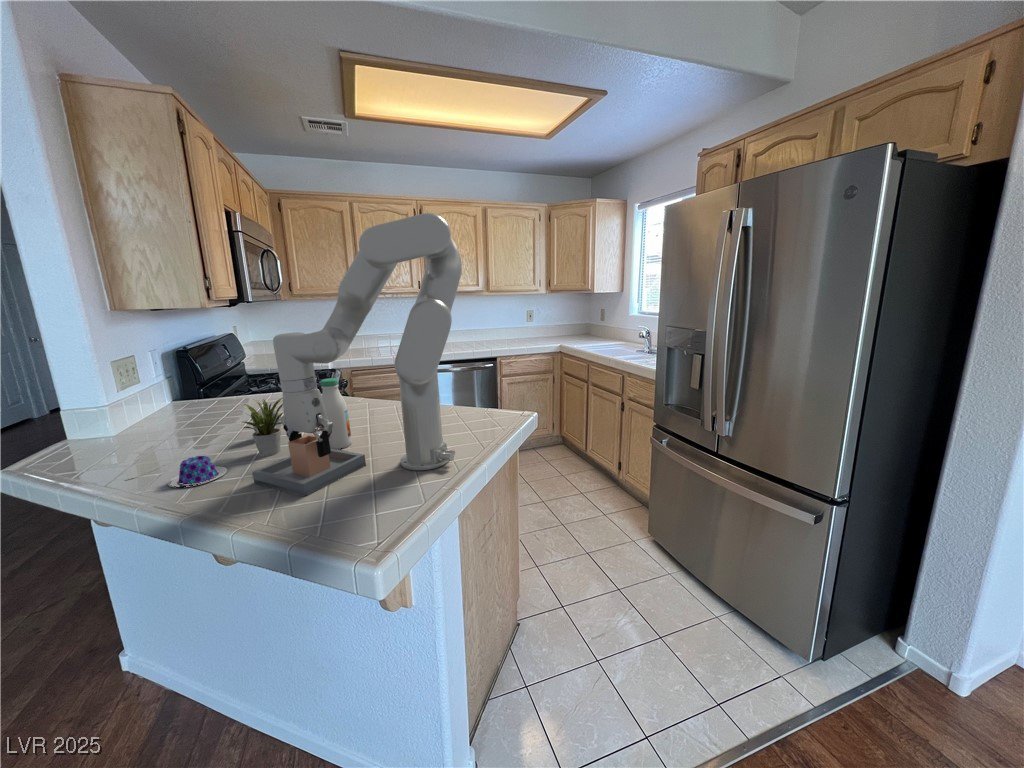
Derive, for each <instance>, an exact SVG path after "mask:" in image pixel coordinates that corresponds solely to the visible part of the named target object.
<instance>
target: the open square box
mask: <svg viewBox="0 0 1024 768" xmlns="http://www.w3.org/2000/svg"><path fill="white" fill-rule="evenodd" d="M317 441H318V440H317V439H316V437H315V436H314V434H307V435H304V436H302V437H301V438H299V439H296V440H293V441H291V442H289V441H288V442H287V444H288V445H287V446H288V450H289V457H291V463H292V469H293V473H294V474H299V475H303V476H307V477H311V476H313V475H316V474H318V473H320V472H322V471H324V470H326V469H328V468H330V461H329V454H328V455H325V456H323V457H319V456H318V451H317V445H316V442H317Z"/></svg>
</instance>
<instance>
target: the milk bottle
mask: <svg viewBox="0 0 1024 768" xmlns="http://www.w3.org/2000/svg"><path fill="white" fill-rule="evenodd" d="M320 386H321V387H320V388H321V389H322V393H321V395H322V398H323V401H324V405H325V409H326V413H327V417H328V420H329V421H331V422H332V423H333V427H332V433H331V435H330V438H329V443H330V448H331V449H336V450H342V449H344V448H348V447H350V446H351V444H352V443H353V442H352V441H353V440H352V434H351V433H352V432H351V426H350V424H351V423H350V417H349V411H348V410H349V409H348V405H347V403H346V400H345V398H344V397H343V395H342V394H341V393H340V390H339V379H338V378H335V377H332V378H330V377H329V378H323V379H321V380H320ZM349 445H350V446H349ZM347 446H348V447H347ZM341 448H342V449H341Z"/></svg>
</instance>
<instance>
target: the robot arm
mask: <svg viewBox="0 0 1024 768" xmlns="http://www.w3.org/2000/svg"><path fill="white" fill-rule="evenodd" d="M451 235H452V234H451V229H450V226H449V224H448V222H447V220H445V219H444V218H443V217H442V216H440V215H438V214H437V213H431V212H424V213H420V214H416V215H412V216H407V217H404V218H401V219H397V220H392V221H388V222H384V223H379V224H376V225H373V226H370V227H368V228H367V229H365V230H364V231H363V232H362V233H361V235H360V237H359V240H358V252H357V253H356V255H355V257H354V259H353V261H352V262H351V264H350V266H349V268H348V270H347V271H346V273H345V274H344V276H343V277H342V279H341V281H340V283H339V286H338V288H337V289H338V290H337V300H336V304H335V305H334V308H333V310H332V312H331V314H330V316H329V318H328V319H327V320H326V323H325V324H324V326H323V328H322V329H321V330H318V331H314V332H310V333H305V332H300V331H298V332H286V333H280V334H276V335H274V337H273V338H272V344H273V350H274V355H275V360H276V365H277V366H276V367H277V371H278V377H279V382H280V388H281V393H282V398H283V399H282V404H283V406H282V408H283V409H282V410H283V412H284V413H283V415H281V418H280V421H281V422H282V424H281V425H282V427H283V430H284V431H285V433H286V437H288V442H291V441H293V440H296V439H299V438H301V437H303V435H302V433H305V434H312V435H314V436H315V437H316V439H317V440H318V441H317V442H316V445H317V451H318V456H319V457H323V456H325V455H328V454H330V453H331V449H330V443H329V438H330V435H331V433H332V427H333V423H332V422H331V421H329V420H328V417H327V413H326V409H325V405H324V401H323V398H322V393H321V391H320V389H318V384H317V378H316V372H315V366H314V364H330V363H332V362H335V361H336V360H338V359H339V358H340V357H341V356H343V355H344V354H345V353H346V352H347V351H348V349H349V348H350V346H351V344H352V342H353V341H354V339H355V337H356V336H357V334H358V332H359V330H360V329H361V327H362V326H363V323H364V322H365V320H366V318H367V316H368V314H369V313H370V312H371V310H372V309H373V308H374V307H373V306H374V305H375V303H376V301H377V300H378V298H379V296H380V295H381V292H382V290H383V289H384V287H385V285H386V283H387V282H388V280H389V278H390V277H391V275H392V274H393V272H394V270H395V268H396V266H397V265H398V263H403V262H406V261H407V262H408V261H411V260H415V259H420V258H424V259H425V270H424V273H423V277H422V281H421V284H420V288H419V292H418V294H417V298H416V300H415V302H414V304H413V305H412V307H411V309H410V310H409V314H408V316H407V320H406V323H405V325H404V326H405V327H404V330H403V334H402V337H401V340H400V342H399V347H398V349H397V353H396V355H395V357H394V358H395V359H394V370H395V373H396V375H397V376H398V383H399V384H398V385H399V392H400V393H399V395H400V404H401V407H400V408H401V414H402V425H403V427H402V428H403V435H404V445H405V454H404V455H403V456H402V457H401V458H400V466H402V467H403V468H404V469H406V470H411V471H429V470H434V469H437V468H440V467H442V466H444V465H446V464H447V463H448V462H453V460H454V458H455V454H456V452H455V450H454V449H453V450H452V449H448V448H447V447H448V446H447V442H444V441H443V440H444V439H443V427H442V413H441V402H440V392H439V391H440V389H439V388H440V387H439V379H438V378H439V376H438V368H439V365H440V362H441V359H442V355H443V353H444V350H445V347H446V344H447V341H448V337H449V335H450V331H451V329H452V328H451V327H452V323H453V321H452V319H453V318H452V309H453V305H454V303H455V299H456V295H457V291H458V288H459V284H460V280H461V276H462V271H463V270H462V268H463V267H462V257H461V255H460V251H459V248H458V245H456V243H455V241H454V239H453V238H452V237H451ZM320 432H321V434H320Z"/></svg>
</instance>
